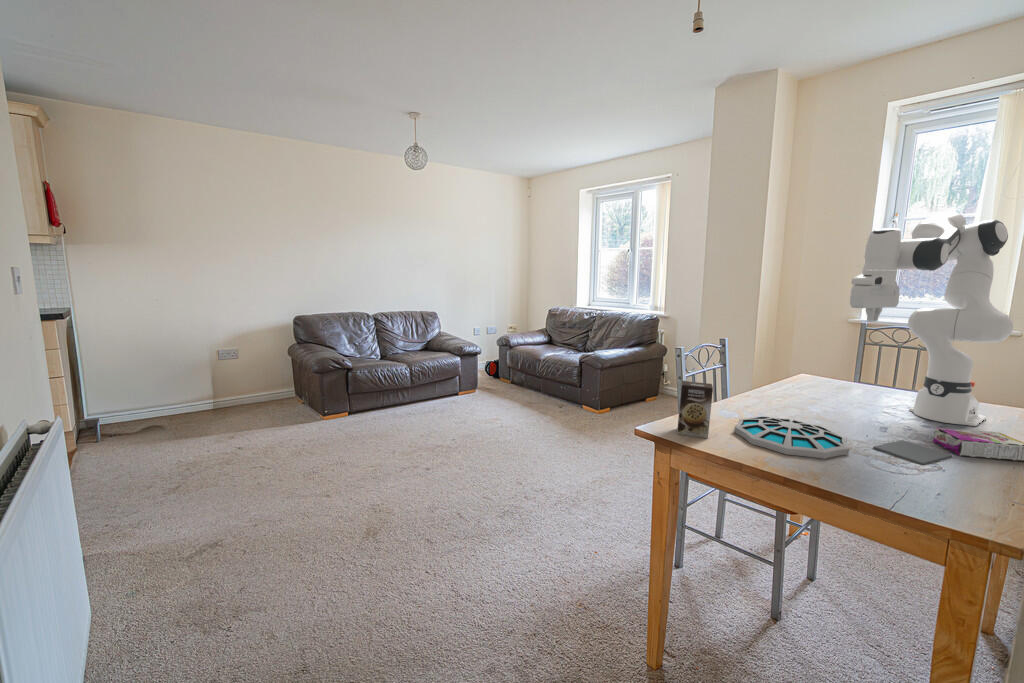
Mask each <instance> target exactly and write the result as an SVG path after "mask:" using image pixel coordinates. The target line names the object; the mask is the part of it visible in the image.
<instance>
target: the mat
mask: <svg viewBox="0 0 1024 683" xmlns="http://www.w3.org/2000/svg"><path fill="white" fill-rule="evenodd" d="M872 449H873V450H876V451H879V452H881V453H885V454H888V455H891V456H894V457H897V458H900V459H903V460H906V461H910V462H912V463H914V464H915V463H916V464H918V465H921V466H924V465H927V464H928V465H929V464H932V463H935V462H936V463H937V462H939V461H943V460H947V459H951V458H953V455H952V454H950V453H947V452H943V451H940V450H937V449H933V448H929V447H927V446H924V445H921V444H917V443H915V442H910V441H908V440H904V439H901V440H896V441H891V442H887V443H884V444H878V445H875V446H872Z"/></svg>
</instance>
